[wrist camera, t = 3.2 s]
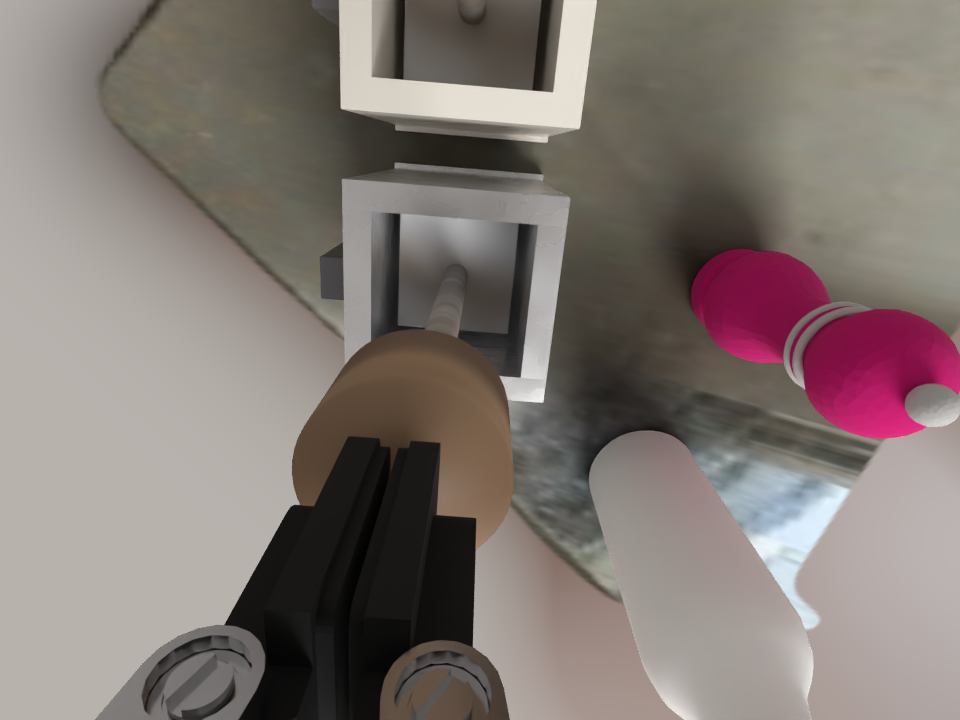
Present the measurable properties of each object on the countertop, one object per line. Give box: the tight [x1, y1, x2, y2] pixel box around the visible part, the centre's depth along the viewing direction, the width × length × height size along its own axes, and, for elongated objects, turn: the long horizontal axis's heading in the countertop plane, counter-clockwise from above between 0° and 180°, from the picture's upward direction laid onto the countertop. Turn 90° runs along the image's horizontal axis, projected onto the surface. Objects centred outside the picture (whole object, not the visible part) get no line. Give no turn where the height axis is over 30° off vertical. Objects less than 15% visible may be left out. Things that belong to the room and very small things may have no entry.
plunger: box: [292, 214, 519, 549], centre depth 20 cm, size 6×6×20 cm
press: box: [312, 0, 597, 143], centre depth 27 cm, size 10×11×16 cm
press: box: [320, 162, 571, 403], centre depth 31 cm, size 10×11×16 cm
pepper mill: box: [691, 249, 960, 439], centre depth 30 cm, size 7×7×20 cm
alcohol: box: [589, 430, 813, 720], centre depth 31 cm, size 9×9×30 cm
